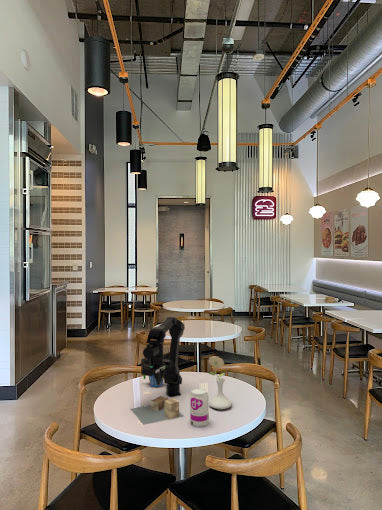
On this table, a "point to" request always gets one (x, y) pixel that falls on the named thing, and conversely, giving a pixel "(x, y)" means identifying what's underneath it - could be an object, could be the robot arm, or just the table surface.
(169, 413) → the oak block
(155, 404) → the walnut block
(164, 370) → the robot arm
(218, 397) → the flower in vase
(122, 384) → the table surface
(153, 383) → the snack cup
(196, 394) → the supplement can
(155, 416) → the slate mat
